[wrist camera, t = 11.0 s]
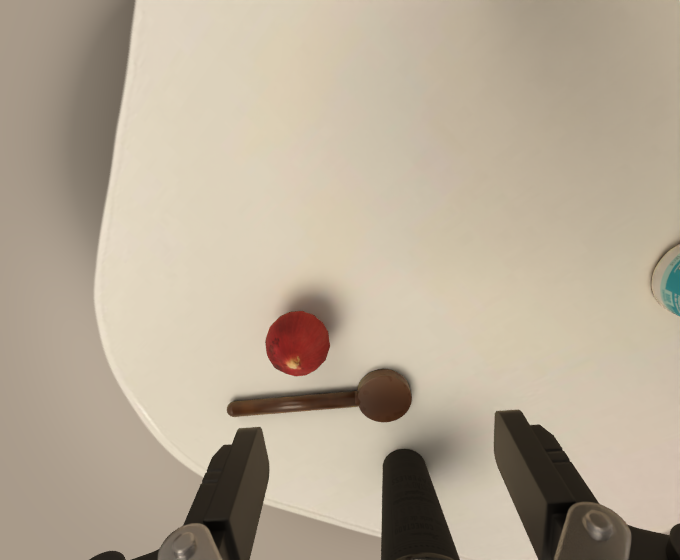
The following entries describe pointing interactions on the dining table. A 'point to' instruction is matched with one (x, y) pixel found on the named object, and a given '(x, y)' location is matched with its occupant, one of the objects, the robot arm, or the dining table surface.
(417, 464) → the drinking cup
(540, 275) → the dining table surface
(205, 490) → the robot arm
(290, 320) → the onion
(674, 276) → the pill bottle
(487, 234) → the dining table surface
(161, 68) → the dining table surface
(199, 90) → the dining table surface
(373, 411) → the spoon
